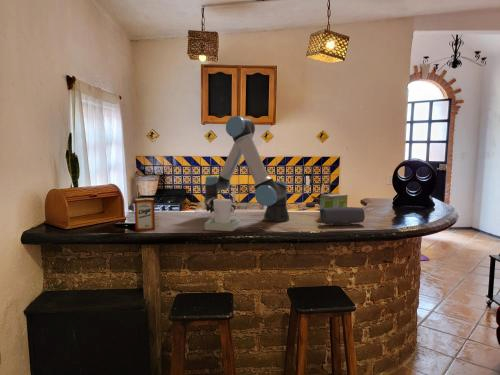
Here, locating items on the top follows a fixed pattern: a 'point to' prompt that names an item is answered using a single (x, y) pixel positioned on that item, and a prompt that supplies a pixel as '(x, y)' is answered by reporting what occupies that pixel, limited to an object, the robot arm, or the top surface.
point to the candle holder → (222, 210)
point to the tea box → (332, 201)
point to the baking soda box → (144, 214)
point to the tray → (222, 225)
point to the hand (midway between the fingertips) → (224, 210)
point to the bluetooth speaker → (342, 215)
